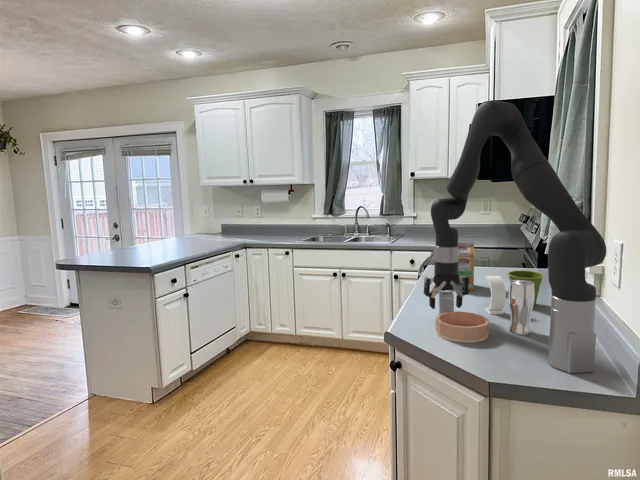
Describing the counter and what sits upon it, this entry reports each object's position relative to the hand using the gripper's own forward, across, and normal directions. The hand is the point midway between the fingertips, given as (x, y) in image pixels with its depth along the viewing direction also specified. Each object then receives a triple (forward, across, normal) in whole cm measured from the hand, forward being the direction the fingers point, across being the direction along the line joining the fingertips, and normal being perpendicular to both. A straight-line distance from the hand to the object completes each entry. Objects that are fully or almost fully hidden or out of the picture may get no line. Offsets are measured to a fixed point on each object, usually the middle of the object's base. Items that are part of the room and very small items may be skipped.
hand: (445, 307), depth 147 cm
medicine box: (+4, 0, 0) cm, 4 cm away
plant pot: (+4, +32, +10) cm, 34 cm away
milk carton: (+4, +19, +38) cm, 42 cm away
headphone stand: (+4, +18, +3) cm, 19 cm away
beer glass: (+3, +17, -16) cm, 24 cm away
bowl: (+3, 0, -16) cm, 16 cm away
